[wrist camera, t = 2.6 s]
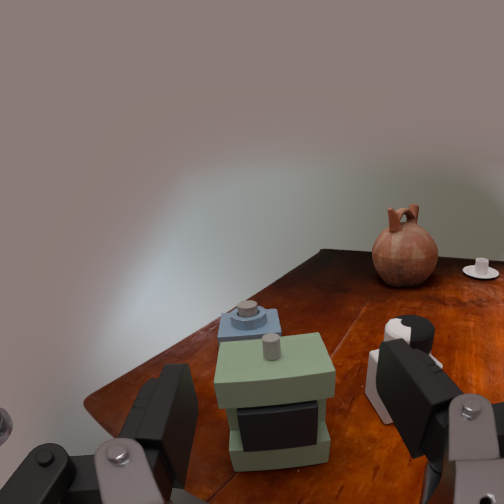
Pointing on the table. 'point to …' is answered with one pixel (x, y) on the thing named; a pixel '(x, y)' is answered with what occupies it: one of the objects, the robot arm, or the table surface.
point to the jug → (404, 250)
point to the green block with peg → (274, 391)
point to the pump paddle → (278, 426)
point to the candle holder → (481, 269)
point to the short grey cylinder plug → (247, 309)
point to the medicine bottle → (417, 336)
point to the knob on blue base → (248, 325)
